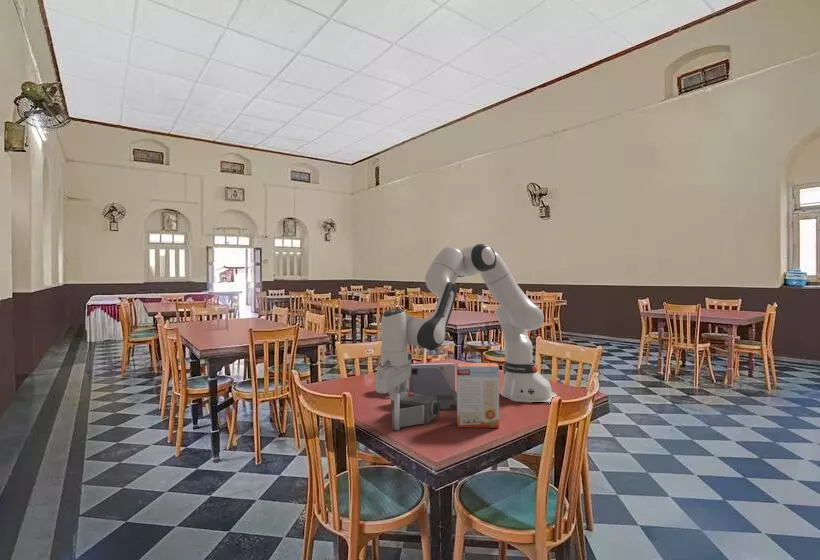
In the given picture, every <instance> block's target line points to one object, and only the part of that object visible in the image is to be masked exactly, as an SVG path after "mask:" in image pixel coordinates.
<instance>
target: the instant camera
mask: <svg viewBox="0 0 820 560" xmlns="http://www.w3.org/2000/svg"><path fill="white" fill-rule="evenodd" d="M409 392H413V393H414V394H423V395H431V396H437V402H439V403H440V410H451V409H453V410H454V409H456V410H457V390H456V365H455V363H454V362H430V363H411V376H410V379H409V380H408V386H407V393H409Z"/></svg>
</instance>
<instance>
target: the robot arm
mask: <svg viewBox="0 0 820 560" xmlns="http://www.w3.org/2000/svg"><path fill="white" fill-rule="evenodd" d="M477 274H480V277H481V278H482V280H483V282H484V284H485V286H486V287H487V289H488V291H489V293H490V294H491V296H492V298H493V299H494V301H496V302H497V303H498V304H499V305H498V306H497V308H496V310H495V316H496V319H497V320H498V322H499V324H500V328H501V331H502V335H503V340H504V362H503V375H504V377H503V384H502V388H501V392H500V395H501V396H502V397H504V398H507V399H509V400H510V401H512V402H518V403H519V402H520V403H532V402H548V403H549V404H550V402H551V399H552V397H555V396H557V397H558V394H557V393H556V392H553V391H552V386H551V382H550V381H549V380H548V379H547V378H546V377H544V376H543V375H542V374H541V373H540V372H538V363H535V362H534V361H533V343H532V341H531V339H530V337H529V336H528V332H527V331H536V330H539V329H540V328H541V327H542V325H543V324H544V321H545V315H544V311H542V309H541V308H540V307H538V306H537V305H536V304H535V303H534V302H533V301H532V300H531V299H530V298H529V297H528V296H527V294H526V293H524V291H523V290H522V288H520V286H519V285H518V284H517V281H516V280H515V278H514V276H513V275H512V273H511V271H510V268H509V267H508V266H507V264H506V263H505V261H504V259H502V257H501V256H500V255H499V253H497V252H496V251H495V250H494V249H493V248H492V247H491V246H490V245H489V244H488V243H487V244H486V243H477V244H476V245H470V246H467V247H464V248H462V249H459V248H456V247H453V246H446V247H443V248H442V249H441V250H440V251H439V252H438V254H437V255H436V256H435V258H434V259H433V261H432V262H431V264H430V265H429V267H428V269H427V271H426V274H425V276H424V283H425V285H426V288H427V289H428V290H429V292H431V293H432V294H433V295H435V296H436V297H438V299H437V302H436V305H435V308H434V311H433V314H432V316H430V317H428V318H421V317H415V316H412V315H410V314H408V313H406V312H405V310H404V309H401V308H393V309H388V310H386V311H385V312H383V314H382V315H381V318H380V319H381V320H380V329H379V330H380V335H379V337H380V340H381V346H380V366H379V368H378V369H377V370H376V374H375V391H376V393H378V394H388V393H387V392H389V394H388V395H389V400H390V401H391V400H393V401H394V394H395V393H399V389H400V384H402V383H404V382H405V381H407V380H409V379H410V376H411V364H412V360H413V353H411V352H409V351H408V348H407V345H408V346H409V345H410V346H414V347H420V348H422V349H426V350H428V351H435V350H437V349H438V348H439V347H440V346H441V345H443V344H444V341H445V339H446V333H447V327H448V325H449V321H450V317H451V315H452V312H453V308H454V305H455V302H456V298H457V294H458V289H457V286H456V281H457V279H458V278H464V277H471V276H476V275H477ZM548 403H547V404H548ZM549 404H548V405H549Z"/></svg>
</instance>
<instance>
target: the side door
mask: <svg viewBox="0 0 820 560" xmlns="http://www.w3.org/2000/svg"><path fill="white" fill-rule="evenodd" d="M391 421H392V424H391V425H392V427H391V428H392V429H393V430H394V431H400V430H401V429H400V428H406V427H411V426H416V425H423V424H425V423H424V405H421V406H415V407H409V408H402V409H400V394H399V393H395V394H394V410H392V418H391Z"/></svg>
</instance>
